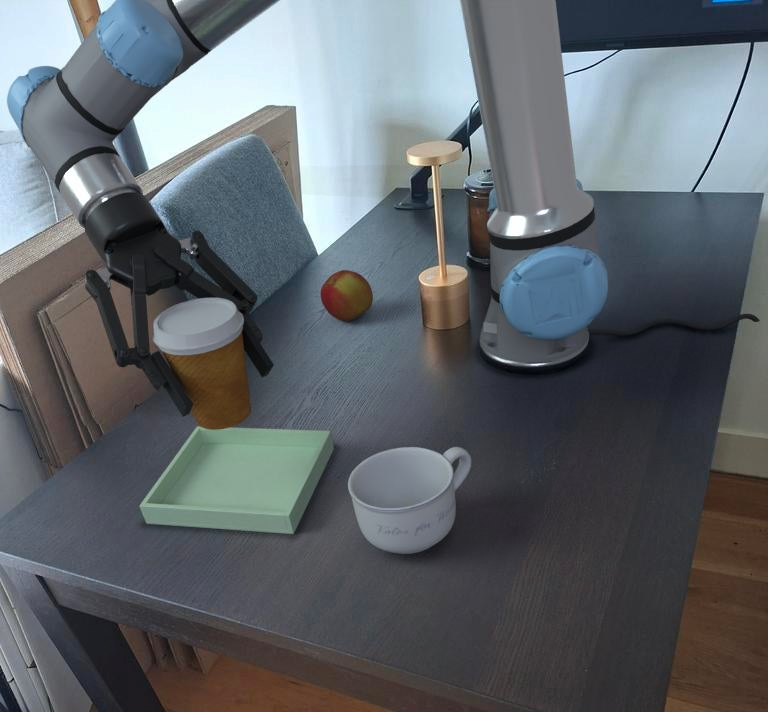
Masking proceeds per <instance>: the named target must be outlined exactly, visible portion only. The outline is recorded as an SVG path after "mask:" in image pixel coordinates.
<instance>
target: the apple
mask: <svg viewBox="0 0 768 712" xmlns="http://www.w3.org/2000/svg"><path fill="white" fill-rule="evenodd" d="M372 290H373V289H372V287H371V284H370V283H369V281H368V280H367V279H366V278H365V277H364V276H363V275H361V274H360V273H358V272H356V271H353V270H348V269H343V270H342V269H341V270H339V271H336V272H335V273H333V274H331V275H330V276H329V277H328V278H327V279H326V280H325V282H324V283H323V284H322V286H321V289H320V299H321V303H322V305H323V307H324V309H325V310H326V312H327V313H328V314H329V315H331V317H333V318H334V319H336V320H338V321H340V322H347V323H348V322H352V321H354V320H355V319H356V318H358V317H361V316H362V315H364V313H365V312H366V311H368V310H369V309H370V308H371V307H372V305H373V300H374V295H373V291H372Z"/></svg>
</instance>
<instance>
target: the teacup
mask: <svg viewBox="0 0 768 712" xmlns="http://www.w3.org/2000/svg"><path fill="white" fill-rule="evenodd" d="M458 459H459V462H458V465H457V468H456V470H455V471H454V468H453V466H452V465H453V463H454V461H456V460H458ZM471 467H472V457H471V455H470V454H469V452H468V451H467V450H466V449H464V448H462V447H460V446H453V447H450V448H449V449H447V450H446V451H444V453H443V454H441V453H439V452H437V451H434V450H432V449H428V448H424V447H420V446H419V447H417V446H406V447H405V446H404V447H396V448H390V449H386V450H384V451H380V452H377V453H375V454H373V455H371V456H369V457H367V458H365V459H364V460H362V461H361V462H360V463H359V464H358V465H357V466H356V467H355V468H353V470H352V472H351V473H350V475H349V478H348V481H347V489H348V492H349V495H350V496H351V500H352V506H353V510H354V513H355V518H356V521H357V524H358V527H359V530H360V531H361V533H362V535H363V537H364V538H365V539H366V540H367V541H368V542H369V543H370V544H371V545H372V546H374V547H376V548H377V549H379V550H381V551H384V552H388V553H394V554H399V555H411V554H417V553H421V552H424V551H426V550H428V549H430V548H431V547H433V546H435V545H436V544H438V543H439V542H440V541H442V540H443V539H444V538H445V537H446V536H447V535H449V533H450V531H451V530H452V528H453V526H454V524H455V520H456V514H457V513H456V512H457V503H456V502H457V501H456V491H457V490H458V488H459V487H460V486H461V485H462V483H463V482H464V481H465V480H466V478H467V477H468V475H469V473H470V471H471Z"/></svg>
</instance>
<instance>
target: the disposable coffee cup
mask: <svg viewBox="0 0 768 712" xmlns="http://www.w3.org/2000/svg"><path fill="white" fill-rule="evenodd" d="M243 324H244V317H243V315H242V314H241V313H240V312H239V311H238V309H237V307H236V305H235V304H234V303H233V302H231V301H229V300H227V299H222V298H200V299H198V298H194V299H190V300H186V301H183V302H179V303H177V304H174V305H172V306H170V307H168V308H166V309H165V310H163V311H161V312H160V313H159V314H158V315H157V316H156V317H155V318H154V319H153V324H152V325H153V331H152V332H153V333H152V341H153V343H154V344H155V345H156V346H157V347H158V349H159V350H160V351H161V352H162V354H163V357H164V359H165V361H166V363H167V364H168V366H169V367H170V369H171V370H172V372H173V373H174V375H175V377H176V378H177V380H178V381H179V383H180V384H181V386H182V387H183V389H184V391H185V392H186V394H187V395H188V397H189V398H190V400H191V401H192V403H193V407H192V409H191V411H190V413H192V416H193V418H194V420H195V423H196V424H197V426H200V427H202V428H205V429H210V430H219V429H225V428H230V427H231V428H234V427H235V426H237V425H239V424H241V423H242V422H244V421H245V420H247V419H248V418H249V416H250V415H251V412H252V404H251V397H250V387H249V379H248V370H247V361H246V354H245V353H246V352H245V350H244V344H243V335H242V330H243Z"/></svg>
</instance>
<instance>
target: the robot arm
mask: <svg viewBox="0 0 768 712" xmlns="http://www.w3.org/2000/svg"><path fill="white" fill-rule="evenodd" d="M280 1H281V0H114V2H113V3H112V4H111V5H110V6H109V7H108V8H107V9H106V10H104V11H102V12H101V14H100V15H99V16H98V17H97V20H98V21H97V22H96V24H95V25H94V26H93V28H92V29H91V30H90V31H89V32H88V34H87V35H86V37H85V38H84V39H83V41H82V42H81V44H80V45H79V46H78V48H77V49H76V50H75V52H74V53H73V54H72V56H70V59H69V60H68V61H67V62H66V64H65V65H64V66H63V67H62V68H61V69H60V68H59V67H56V66H51V65H39V66H34V67H32V68H29V69H28V71H27V74H25V75H18V76H17V77H16V78H15V80H14V81H13V82H12V84H11V85H10V86H9V88H8V92H7V96H6V105H7V109H8V112H9V115H10V116H11V118H12V119H13V122H14V123H15V125H16V127H17V129H18V130H19V132H20V135H21V138H22V140H23V142H24V143H25V144H26V146H27V147H28V148H29V149H30V150H31V151H32V153H33V154H34V156H35V157H36V159H37V160H38V161H39V163H40V164H41V166H42V167H43V169H44V170H45V172H46V174H47V175H48V176H49V178H50V179H51V181H52V182H53V184H54V186H55V188H56V189H57V191H58V192H59V193H60V196H61V197H62V199H63V201H64V202H65V204H66V205H67V207H68V208H69V210H70V211H71V213H72V214H73V216H74V217H75V219H76V220H77V222H78V224H79V225H80V226H81V227H82V228H83V229H84V233H85V235H86V236H87V238H88V240H89V241H90V243H91V244H92V247H94V249H95V251H96V252H97V254H98V255H99V257H100V258H101V260H102V261H103V263H104V264H105V265H104V266H105V267H103V268H101V269H99V270H97V271H96V270H94V269H88V270H87V271H86V272H85V280H84V289H85V291H87V293H88V294H89V295H90V296H91V298H92V299H93V301H95V303H96V306H97V309H98V311H99V315H100V318H101V321H102V323H103V327H104V330H105V333H106V336H107V339H108V342H109V346H110V349H111V351H112V355H113V357H114V360H115V363H116V366H118V367H120V368H126V367H128V366H135V367H136V368H137V369H139V370H140V369H141V370H142V371H143V373H144V375H145V376H146V378H147V379H148V381H149V383H150V384H151V385H152V387H153V388H154V389H155V390H156V391H157V392H159V391H161V390H164V389H165V391H166V393H167V395H169V398H170V399H171V400H172V402H173V404H174V406H175V407H176V408H177V410H178V412H179V413H180V415H181V416H182V417H186V416H187V415H190V414H191V409H192V407H193V403H192V401H191V400H190V398H189V397H188V395H187V394H186V392H185V391H184V389H183V387H182V386H181V384H180V383H179V381H178V380H177V378H176V377H175V375H174V373H173V372H172V370H171V368H170V366H169V364H168V362H167V360H166V359H165V357H164V355H162V354H161V351H160V350H157V351H154V352H153V353H150V347H151V346H150V333H149V320H148V319H149V318H148V304H147V296H148V297H150V296H152V295H154V294H156V293H157V292H159V291H160V290H165V289H170V288H172V287H176V288H177V289H179V290H181V291H186V292H188V293H189V294H191V295H192V296H194V297H195V298H196V299H200V298H222V299H227V300H229V301H231V302H233V303H234V304H235V305H236V307H237V309H238V311H239V312H240V313H241V314H242V315H243V317H244V324H243V330H242V335H243V344H244V352H245V353H246V355H247V356H248V358H249V359H250V361H251V363H252V364H253V366H254V368H255V369H256V370H257V372H258V373H259V375H260V378H264V377H266V376H268V375H269V374H270V372H271V371H272V369H273V368H274V366H275V364H274V363H273V361H272V360H271V358H270V356H269V355H268V353H267V352H266V350H265V349H264V347H263V345H262V344H261V342H262V340H263V338H264V337H263V333H262V331H261V329H259V327H258V325H257V324H256V322H255V320H254V319H253V318H252V316H251V314H250V313H251V312H253V309H254V307H255V305H256V303H257V301H258V298H259V297H258V294H257V293H256V292H255V291H254V290H253V289H252V288H251V287H250V286H249V285H248V284H247V283H246V282H245V281H244V280H243V279H242V278H241V277H240V276H239V275H238V273H237V274H236V272H235V271H234V270H233V269H231V267H230V266H229V265H228V264H227V263H226V262H225V261H224V260H223V259H222V258H221V257H220V256H219V255H218V254H217V253H216V252H215V251H214V250H213V249H212V248H211V247H210V245H209V243H208V241H207V240H206V238H205V236H204V234H203V233H202V232H201V231H200V230H194V231H193V232H192V233H191V236H189V237H186V238H183V239H177V237H175V236H173V235H172V234H171V233H170V232H169V231H168V230H167V228H166V225H165V224H164V221H163V220H162V218H161V217H160V216H159V214H158V212H157V211H156V209H155V208H154V206H153V204H152V203H151V202H150V200H149V198H148V197H147V196H146V195H144V191H143V189H142V187H141V186H140V184H139V183H138V181H137V179H136V178H135V177H134V176H133V174H132V172H131V171H130V169H129V168H128V166H127V164H126V163H125V161H124V159H123V158H122V157H121V156H120V154H119V152H118V150H117V148H116V146H115V144H114V141H115V139H116V138H117V137H118V136H119V135H120V134H121V133H122V132H123V131H124V130H125V129H126V127H127V125H129V124H130V123H131V121H132V120H133V119H135V117H136V116H137V115H138V113H139V112H141V110H142V109H143V108H144V107H145V106H146V104H147V103H149V101H150V100H151V99H152V98H154V97H155V95H157V94H158V93H159V92H161V90H163V89H164V88H165V87H166V86H168V85H169V84H170V83H171V82H172V81H174V80H175V79H177V78H178V77H180V76H181V75H182V74H184V73H186V72H187V71H188V70H189V69H190V68H191V67H192V66H194V65H195V64H196V63H198V62H199V61H200V60H202V59H203V58H205V57H206V56H207V55H208V54H210V52H211V51H213V50H214V49H216V48H217V47H218V46H220V45H221V44H223V43H224V42H225V41H227V40H228V39H230V38H231V37H232V36H233V35H235V34H236V33H238V32H239V31H241V30H242V29H243V28H244V27H246V26H247V25H248V24H250V23H251V22H253V21H254V20H255V19H256V18H258V17H259V16H261V15H262V14H263V13H265V12H266V11H268V10H269V9H270V8H271V7H274V6H275V5H276V4H277V3H278V2H280ZM556 1H557V0H459V3H460V9H461V14H462V19H463V26H464V31H465V36H466V41H467V47H468V52H469V57H470V64H471V69H472V76H473V80H474V85H475V90H476V91H475V92H476V96H477V101H478V102H477V103H478V108H479V114H480V118H481V119H480V120H481V124H482V130H483V135H484V140H485V146H486V150H487V151H486V152H487V157H488V163H489V167H490V174H491V178H492V184H493V188H492V189H490V192H489V197H488V208H487V214H488V220H487V222H486V223H487V224H486V228H487V233H488V238H489V256H490V257H489V258H490V259H489V260H490V261H489V262H490V294H491V295H490V301H489V306H488V309H487V312H486V315H485V318H484V321H483V322H482V323H483V324H482V328H481V331H480V335H479V353H480V356H481V357H482V359H483V360H484V362H486V363H487V364H489V365H490V366H492V367H494V368H497V369H499V370H502V371H505V372H509V373H515V374H524V375H525V374H526V375H527V374H528V375H535V374H537V375H538V374H546V373H552V372H557V371H561V370H563V369H567V368H569V367H571V366H573V365H575V364H577V363H579V362H580V361H581V360H582V359H583V358H584V357H585V356H586V354H587V353H588V351H589V344H590V335H604V336H605V335H607V336H616V337H617V336H618V337H628V336H629V337H630V336H634V335H636V334H640V333H642V332H644V331H646V330H647V329H649V328H652V327H653V326H657V325H658V326H659V325H663V324H665V325H666V324H671V325H678V326H682V327H686V328H690V329H694V330H701V331H717V330H720V329H723V328H726V327H729V326H731V325H733V324H735V323H737V322H739V321H741V320H745V319H747V320H751V322H754V323H759V322H760V319H759V317H757V316H756V315H754V314H752V313H742V314H739V315H736V316H734V317H732V318H729V319H727V320H726V321H723V322H720V323H716V324H700V323H694V322H690V321H687V320H682V319H677V318H659V319H658V318H657V319H654V320H650V321H649V322H646V323H644V324H642V325H641V326H639V327H637V328H634V329H629V330H617V329H601V328H599V329H594V328H593V329H591V328H588V326H589V325H590V324H591V323H592V322H593V321H594V320H595V319H596V317H597V316H599V315H600V313H601V311H602V310H603V308H604V306H605V304H606V301H607V298H608V295H609V274H608V270H607V268H606V265H605V262H604V261H603V260H602V258H601V254H600V248H599V247H600V246H599V239H598V230H597V221H596V220H597V219H596V212H595V202H594V199H593V197H592V196H591V195H590V194H589V193H587V191H586V192H585V191H584V189H583V188H584V187H583V184H582V182H581V180H579V179H578V178H577V175H576V166H575V158H574V148H573V140H572V131H571V123H570V115H569V113H570V112H569V105H568V104H569V103H568V97H567V96H568V95H567V87H566V80H565V70H564V63H563V62H564V61H563V53H562V45H561V35H560V27H559V19H558V11H557V2H556ZM182 254H185V255H187V256H188V258H189V259H190V260H192V261H193V260H194V261H195V262H196V264H197V265H198V266H199V268H200V269H201V270H202V271H204V273H205V274H206V275H208V276H209V278H210V279H211V280H212V281H213V282H212V281H211V280H209V279H208V278H206V277H205V276H203V275H201V274H200V273H199V272H197V271H196V270H195V268H194V267H193V266H192V265H191V264H190V263H188V262H187V261H185V260H184V259H182ZM111 280H112V281H113V282H116V283H117V284H119V285H121V286H124V287H125V288H127V289H129V290H130V291H129V292H130V306H131V313H132V314H131V315H132V317H131V318H132V328H133V329H132V330H133V331H132V333H133V347H130V346H129V344H128V341H127V338H126V335H125V331H124V328H123V325H122V322H121V320H120V317H119V314H118V313H119V312H118V310H117V307H116V305H115V302H114V298H113V296H112V293H111V287H112V282H111Z"/></svg>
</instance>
